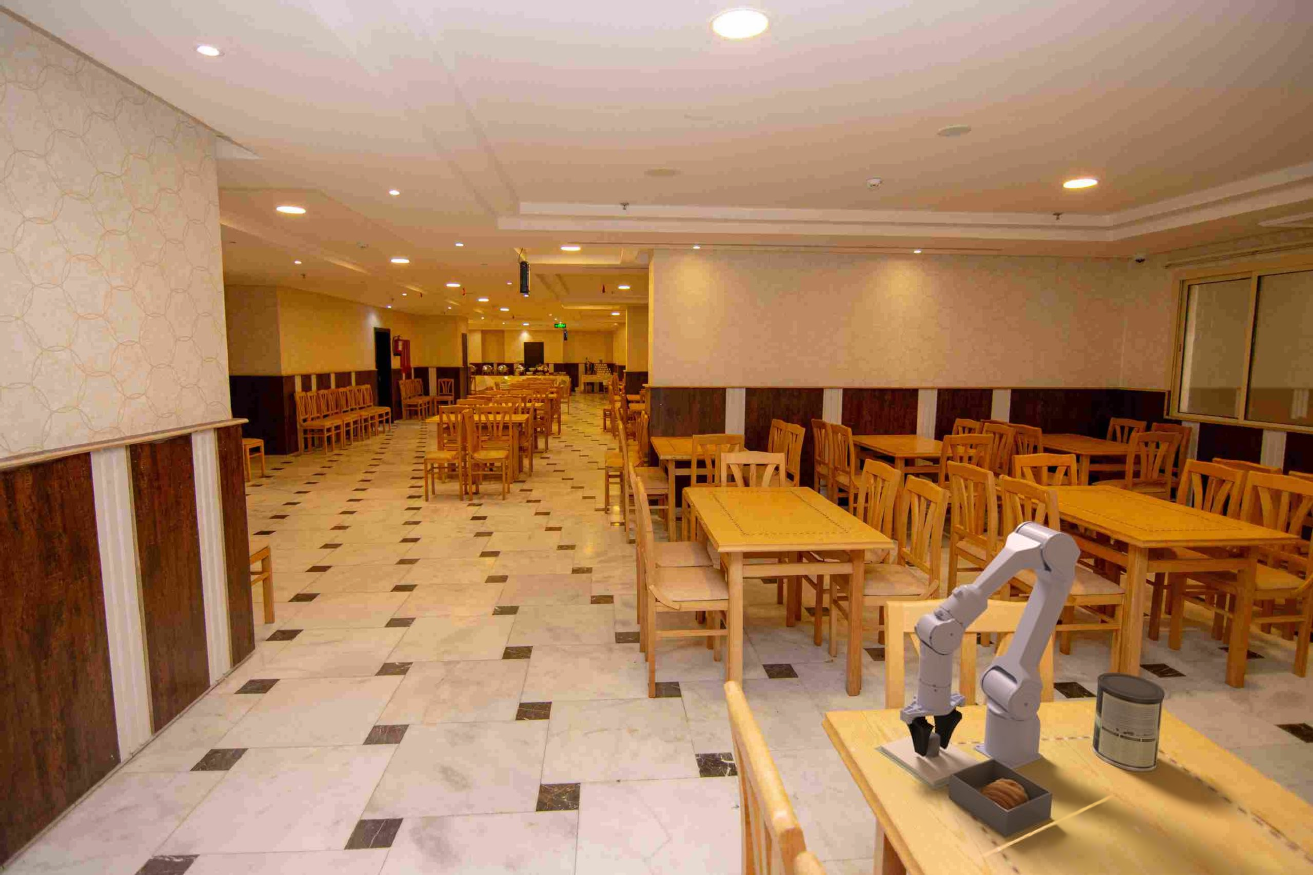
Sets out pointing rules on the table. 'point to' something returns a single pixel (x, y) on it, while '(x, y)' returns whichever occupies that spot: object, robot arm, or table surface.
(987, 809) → the dish
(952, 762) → the lid
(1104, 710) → the coffee can
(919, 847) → the table surface
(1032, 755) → the robot arm
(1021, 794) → the pastry
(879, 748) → the mat
